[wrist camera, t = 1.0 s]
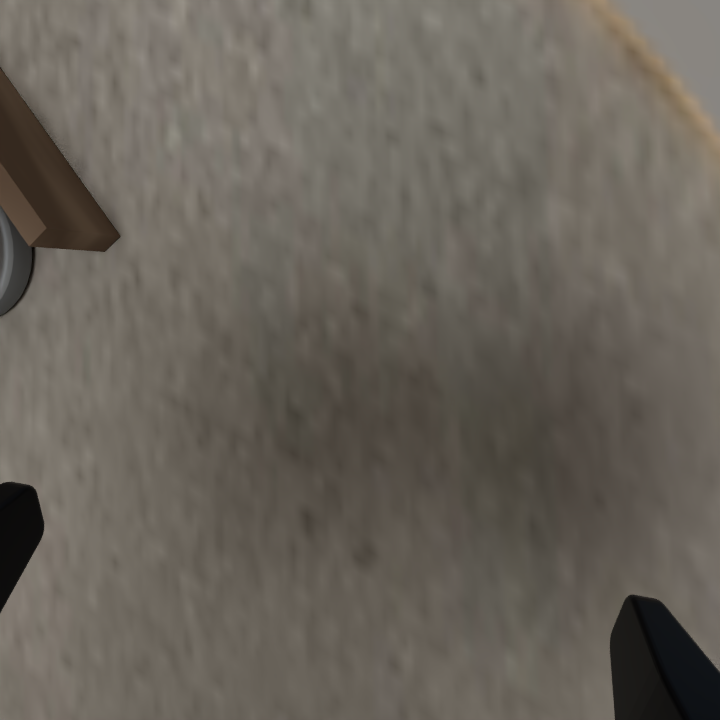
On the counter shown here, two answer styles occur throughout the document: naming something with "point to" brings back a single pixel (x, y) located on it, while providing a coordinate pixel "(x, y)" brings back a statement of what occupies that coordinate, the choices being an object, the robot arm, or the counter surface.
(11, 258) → the travel mug
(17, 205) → the walnut caddy
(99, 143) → the counter surface
